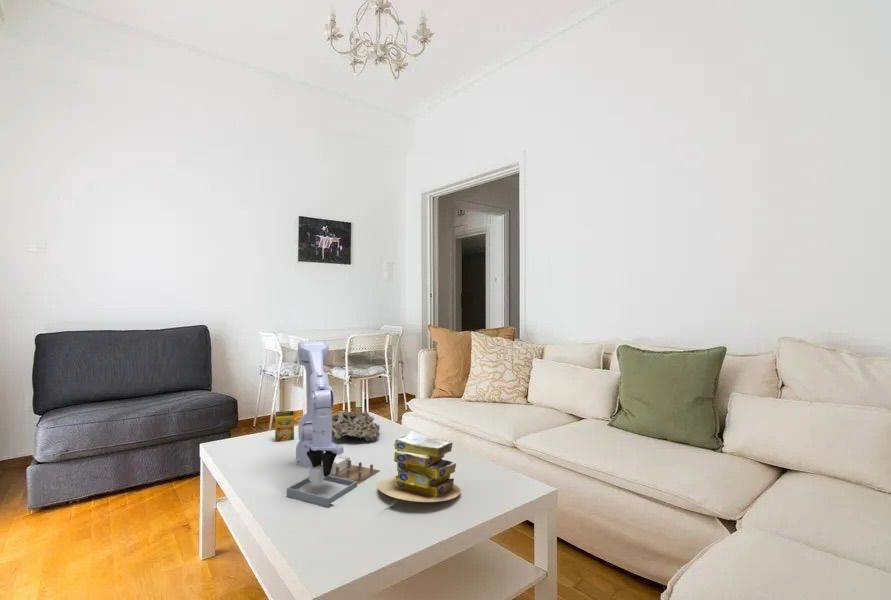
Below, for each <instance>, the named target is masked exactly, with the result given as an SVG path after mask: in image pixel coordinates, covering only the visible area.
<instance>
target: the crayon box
mask: <svg viewBox="0 0 891 600" xmlns="http://www.w3.org/2000/svg"><path fill="white" fill-rule="evenodd" d="M284 413H286V414H284ZM294 414H295V410H284V411H276V412H275V421H274V423H275V425H274V426H275V429H274V432H275V433H274V435H275V436H274V437H275V438H274V441H275V442H284V441H294V440H295V415H294Z"/></svg>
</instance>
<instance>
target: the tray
mask: <svg viewBox="0 0 891 600" xmlns="http://www.w3.org/2000/svg"><path fill="white" fill-rule="evenodd" d="M322 480H323V481H327V482H332V483H337V484H340V485H345V487H344V488H342V489H341V490H339V491H338V492H336V493H335V494H333V495H332V496H330V497H326V496H323V495H320V494H319V495H318V494H315V493H310V492H307V491H302V490H298V489H300V488H301V487H303V486H305V485H307V484H309V483H311V482H312V481H309V476H307V477H306V478H304V479H302V480H300V481H298V482H296V483H294V484H292V485H290V486H288V487H287V488H286V497H287V498H290V499H293V500H294V499H295V500H298V501H302V502H305V503H309V504H313V505H317V506H321V507H325V508H328V509H329V508H331V507H333V506H334V504H332V503H333V502H335V501H337V500H338V499H340V498H341V497H344V496H345V495H346V494H347V493H350V492H351V491H352V490H354V489H355V488H357V487H358V484H357V481H352V480H348V479H343V478H339V477H334V476H330V475H329V476H328V477H326V478H324V479H322Z"/></svg>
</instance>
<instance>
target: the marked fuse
mask: <svg viewBox="0 0 891 600" xmlns="http://www.w3.org/2000/svg"><path fill="white" fill-rule="evenodd" d="M335 473H336V462H333V465H332V469H331V473H330V475H333V474H335ZM328 476H329V475H328ZM328 476H326V477H328ZM308 477H309V481H311V482H314V483H320V482H322V479H324V478H326V477H325V476H324V473H323V464H320V465H318V466H316V467H312V468H308Z"/></svg>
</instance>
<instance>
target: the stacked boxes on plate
mask: <svg viewBox="0 0 891 600" xmlns="http://www.w3.org/2000/svg"><path fill="white" fill-rule="evenodd" d="M393 446H394V449H395V451H394V456H393V457H394V459H393V460H394V463H396V471H397V475H395V476H391V477H387V478H385V479H382V480H380V481H379V482H378V483H377V485H376V486H377V487H376V488H377V489H378V490H379V492H381V493H383V494H384V495H387V496H389V497H391V498H394V499H399V500H403V501H410V502H418V503H420V502H421V503H436V502H444V501H445V502H446V501H449V500H453V499H455V498H457V497H458V496H459V495H460V494H461V489H460V487H459V486H458V485H456V484H455V481H454V480H455V479H454V478H453V477H452V478H451V474H454V473H455V472H456V467H457V463H456V462H454V461H450V460H447V459H446V460H445V459H443V458H445V455H446V454H448V453H451V452H452V448H453V442H452V441H451V440H449V441H448V440H445V439H438V438H434V437H430V436H427V435H424V434H421V433H420V432H417V431H414V430H411V431H409V433H408V434H407V435H404V436H401V437H399V438H395V440H394V444H393Z"/></svg>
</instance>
